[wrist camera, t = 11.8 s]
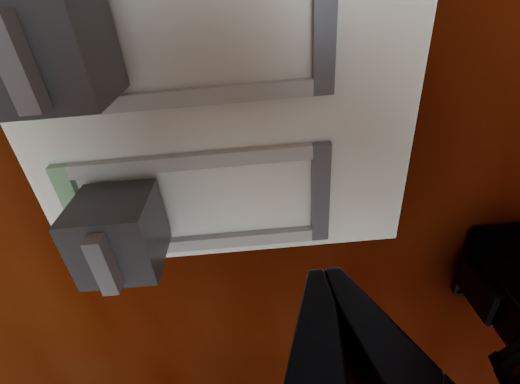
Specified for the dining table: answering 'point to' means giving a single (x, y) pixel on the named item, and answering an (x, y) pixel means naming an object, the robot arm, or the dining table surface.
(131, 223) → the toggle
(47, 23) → the toggle middle
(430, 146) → the dining table surface
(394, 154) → the breaker board
